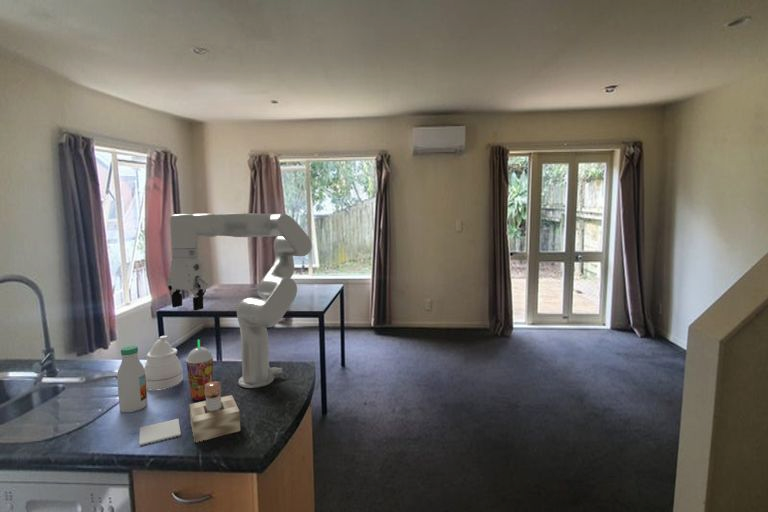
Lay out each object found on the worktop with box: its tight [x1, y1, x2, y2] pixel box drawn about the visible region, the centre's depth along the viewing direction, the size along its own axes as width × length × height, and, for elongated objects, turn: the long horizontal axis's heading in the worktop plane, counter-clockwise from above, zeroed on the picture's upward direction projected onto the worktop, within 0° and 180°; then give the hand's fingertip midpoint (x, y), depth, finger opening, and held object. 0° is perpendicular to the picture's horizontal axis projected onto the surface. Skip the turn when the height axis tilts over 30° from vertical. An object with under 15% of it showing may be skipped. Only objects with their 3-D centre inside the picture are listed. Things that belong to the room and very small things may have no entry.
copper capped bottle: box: [204, 380, 222, 413], centre depth 118 cm, size 4×4×13 cm
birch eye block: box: [188, 394, 241, 443], centre depth 118 cm, size 12×12×6 cm
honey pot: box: [143, 335, 184, 391], centre depth 149 cm, size 13×13×18 cm
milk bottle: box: [116, 345, 148, 413], centre depth 130 cm, size 8×8×20 cm
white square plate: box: [138, 418, 182, 446], centre depth 116 cm, size 10×10×1 cm
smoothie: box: [185, 339, 214, 401], centre depth 138 cm, size 8×8×20 cm
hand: (187, 308), depth 127 cm, fingers open, 9 cm apart
